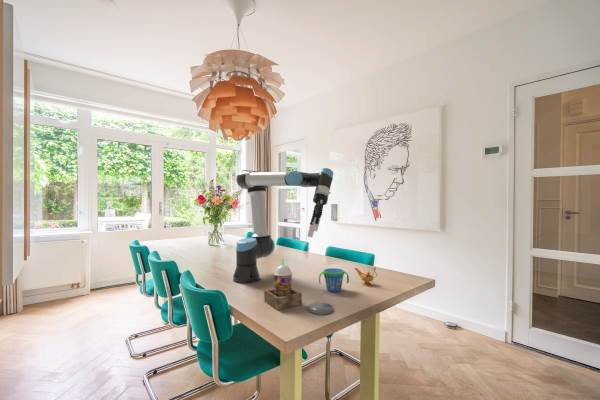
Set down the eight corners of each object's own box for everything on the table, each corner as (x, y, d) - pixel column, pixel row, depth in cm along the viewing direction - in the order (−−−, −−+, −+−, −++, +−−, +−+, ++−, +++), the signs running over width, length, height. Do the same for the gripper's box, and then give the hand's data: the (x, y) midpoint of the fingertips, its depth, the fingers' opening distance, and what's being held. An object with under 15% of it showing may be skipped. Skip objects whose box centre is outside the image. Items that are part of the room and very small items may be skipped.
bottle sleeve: (277, 310, 118) (277, 298, 118) (264, 301, 128) (264, 290, 128) (301, 304, 125) (301, 293, 125) (287, 296, 135) (287, 285, 135)
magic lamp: (359, 278, 166) (359, 260, 166) (381, 287, 150) (381, 266, 150) (349, 280, 163) (350, 261, 163) (371, 289, 147) (371, 268, 147)
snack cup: (319, 293, 140) (319, 273, 140) (318, 286, 150) (318, 267, 150) (350, 293, 139) (350, 273, 139) (347, 287, 150) (347, 268, 150)
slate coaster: (306, 314, 114) (306, 311, 114) (307, 304, 125) (307, 301, 125) (333, 315, 113) (333, 312, 113) (332, 305, 124) (332, 302, 124)
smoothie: (277, 307, 121) (278, 261, 121) (270, 301, 128) (270, 257, 128) (294, 304, 125) (295, 259, 125) (287, 298, 132) (287, 256, 132)
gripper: (333, 188, 135) (324, 230, 128) (323, 205, 158) (314, 240, 151) (319, 184, 135) (308, 225, 127) (310, 201, 158) (301, 237, 151)
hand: (312, 233), depth 139 cm, fingers open, 13 cm apart
